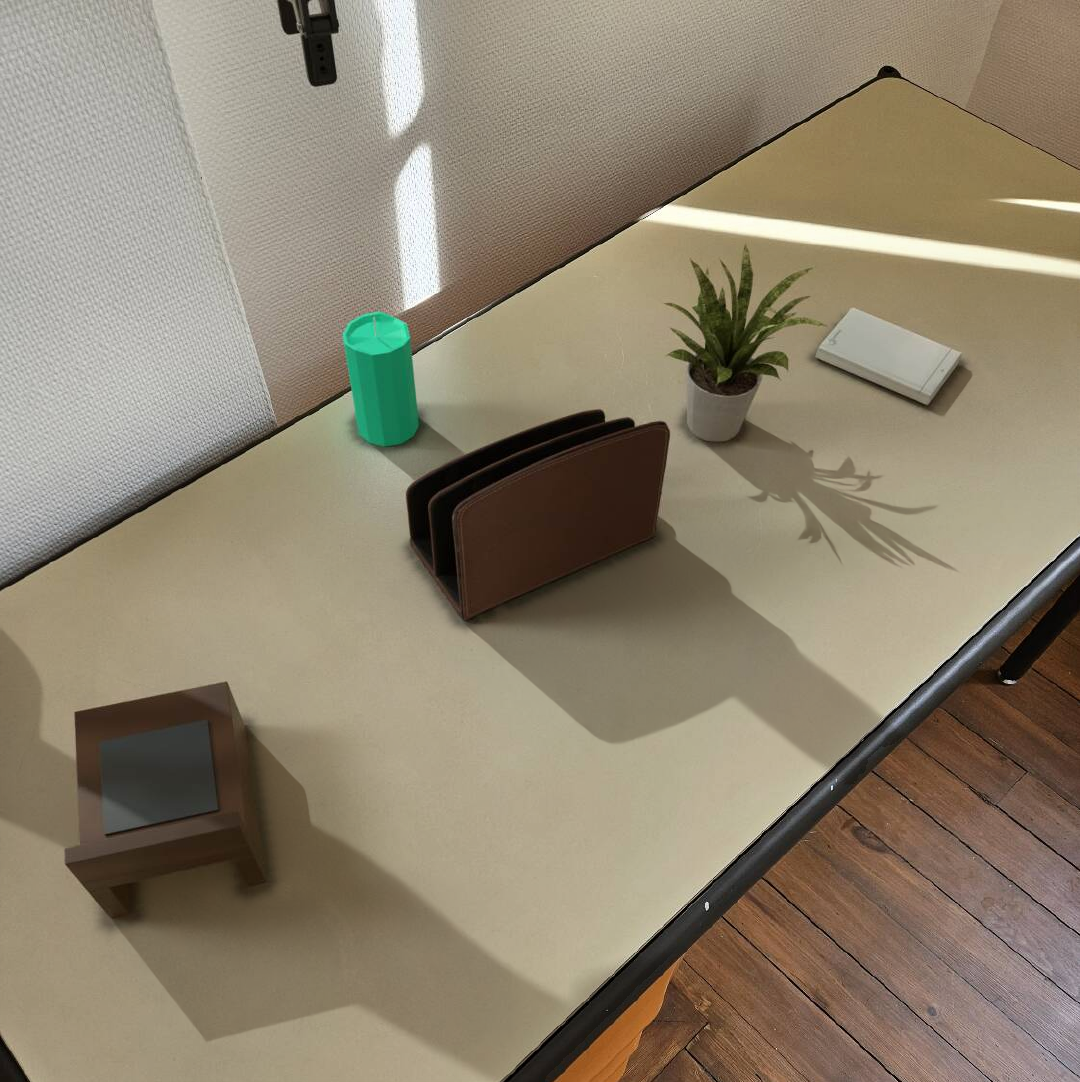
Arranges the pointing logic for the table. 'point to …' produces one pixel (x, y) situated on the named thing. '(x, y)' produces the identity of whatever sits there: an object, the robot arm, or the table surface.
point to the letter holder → (537, 506)
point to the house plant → (731, 351)
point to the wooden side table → (162, 792)
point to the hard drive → (889, 355)
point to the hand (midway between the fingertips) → (309, 57)
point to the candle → (381, 378)
